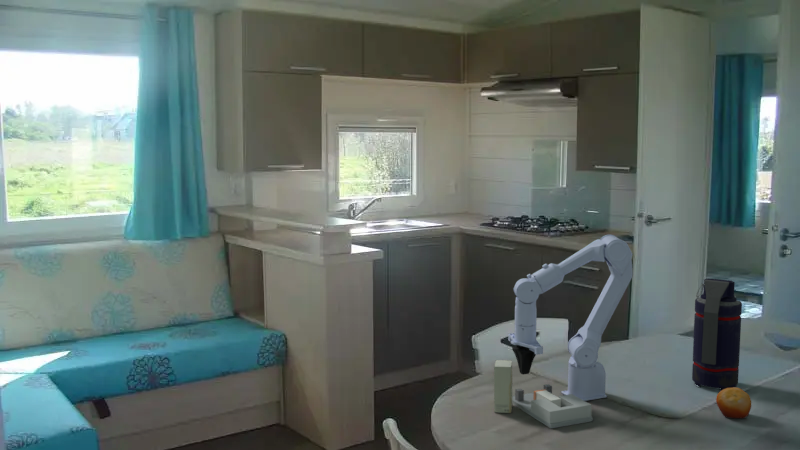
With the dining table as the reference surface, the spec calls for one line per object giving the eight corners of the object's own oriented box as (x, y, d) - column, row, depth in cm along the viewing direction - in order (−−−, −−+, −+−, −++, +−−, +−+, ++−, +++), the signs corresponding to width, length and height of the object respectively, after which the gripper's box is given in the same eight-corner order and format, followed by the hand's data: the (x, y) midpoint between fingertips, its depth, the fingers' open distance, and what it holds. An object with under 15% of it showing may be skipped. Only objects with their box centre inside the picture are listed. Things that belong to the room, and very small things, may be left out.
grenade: (698, 375, 227) (702, 273, 223) (742, 383, 220) (747, 278, 216) (684, 389, 216) (688, 281, 212) (730, 397, 209) (735, 286, 205)
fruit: (748, 404, 200) (751, 383, 195) (750, 429, 194) (753, 408, 189) (714, 400, 203) (716, 380, 198) (715, 425, 197) (717, 404, 192)
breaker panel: (545, 394, 213) (546, 379, 212) (592, 421, 193) (592, 405, 193) (507, 400, 208) (507, 385, 208) (550, 428, 189) (550, 412, 188)
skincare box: (511, 413, 199) (511, 367, 197) (493, 412, 200) (493, 366, 198) (512, 405, 205) (512, 360, 203) (495, 404, 206) (495, 359, 204)
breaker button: (544, 399, 205) (544, 389, 205) (561, 409, 198) (561, 398, 198) (533, 401, 204) (533, 390, 204) (550, 411, 197) (550, 400, 196)
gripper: (498, 319, 214) (498, 367, 216) (526, 332, 201) (525, 383, 202) (521, 316, 217) (520, 364, 218) (550, 329, 203) (549, 380, 205)
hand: (524, 373), depth 211 cm, fingers closed
